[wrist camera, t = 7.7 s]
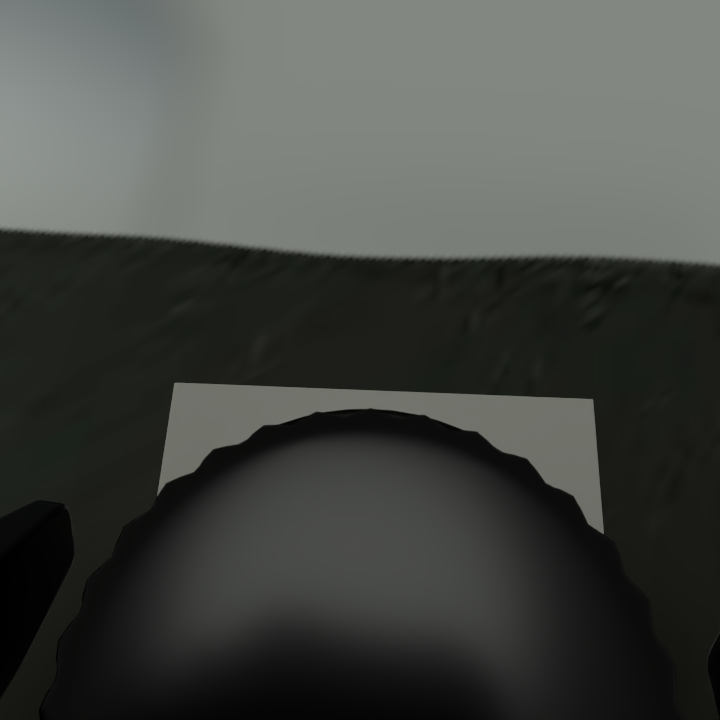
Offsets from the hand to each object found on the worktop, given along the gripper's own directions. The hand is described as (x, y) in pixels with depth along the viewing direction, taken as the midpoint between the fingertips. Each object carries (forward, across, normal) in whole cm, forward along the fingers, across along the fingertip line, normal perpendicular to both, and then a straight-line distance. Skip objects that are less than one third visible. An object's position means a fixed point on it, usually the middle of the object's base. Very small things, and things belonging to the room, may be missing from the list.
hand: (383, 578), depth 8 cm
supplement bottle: (+5, 0, +7) cm, 8 cm away
